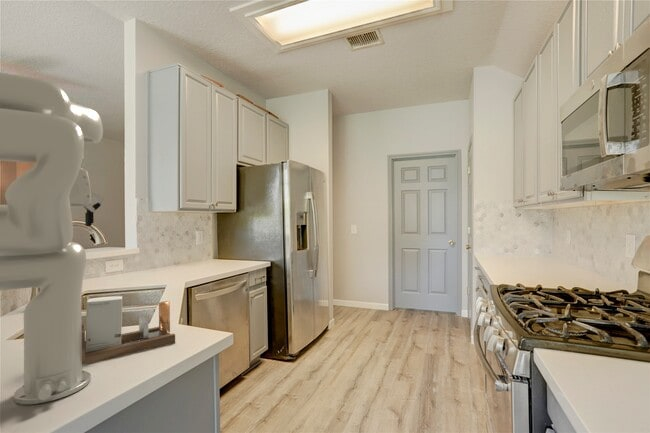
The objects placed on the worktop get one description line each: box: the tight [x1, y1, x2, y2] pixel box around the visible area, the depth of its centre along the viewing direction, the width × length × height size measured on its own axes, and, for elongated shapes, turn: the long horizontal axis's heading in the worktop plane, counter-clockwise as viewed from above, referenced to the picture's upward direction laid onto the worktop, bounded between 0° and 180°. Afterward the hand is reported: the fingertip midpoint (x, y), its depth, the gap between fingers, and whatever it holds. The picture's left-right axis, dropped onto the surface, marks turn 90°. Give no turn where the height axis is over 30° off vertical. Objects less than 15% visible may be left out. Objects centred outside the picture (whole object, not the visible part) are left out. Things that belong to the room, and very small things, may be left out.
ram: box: [138, 300, 171, 341], centre depth 98 cm, size 7×8×11 cm
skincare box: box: [85, 295, 123, 353], centre depth 90 cm, size 8×6×15 cm
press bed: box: [82, 321, 176, 366], centre depth 92 cm, size 12×24×8 cm, turn 129°
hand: (67, 226), depth 90 cm, fingers open, 9 cm apart
